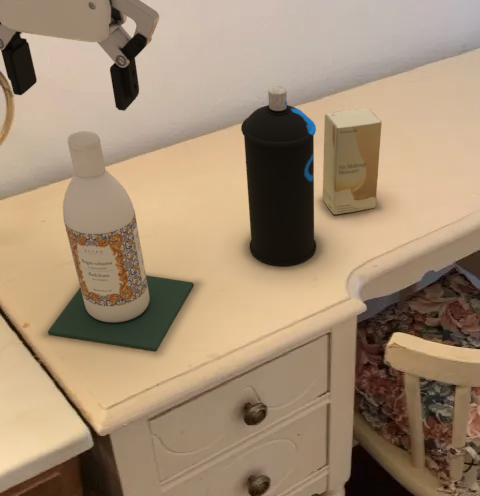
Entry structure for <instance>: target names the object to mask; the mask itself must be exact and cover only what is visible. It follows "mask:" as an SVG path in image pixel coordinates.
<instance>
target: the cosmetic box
mask: <svg viewBox="0 0 480 496" xmlns="http://www.w3.org/2000/svg"><path fill="white" fill-rule="evenodd" d="M323 127H324V128H323V129H324V131H323V133H324V134H323V166H322V200H323V202H324V203H325V205H326V207H327V208H328V209H329V211H330V212H331V213H332V214H333V215H340V214H341V215H342V214H346V213H354V212H358V211H364V210H368V209H369V210H370V209H375V208H376V207H377V206H376V205H377V193H378V192H377V190H378V178H379V163H380V149H381V135H382V121H381V119H380V118H379V117H378V115H376V114H375V112H374V111H373V110H372V109H371V108H370V107H365V108H357V109H346V110H341V111H333V112H325V113H324V126H323Z"/></svg>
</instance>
